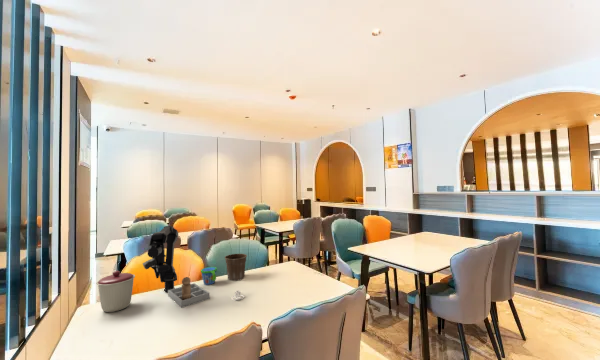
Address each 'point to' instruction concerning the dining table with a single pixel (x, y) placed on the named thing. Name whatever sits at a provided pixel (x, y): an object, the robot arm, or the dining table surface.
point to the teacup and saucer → (237, 296)
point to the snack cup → (209, 275)
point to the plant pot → (235, 266)
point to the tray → (196, 295)
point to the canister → (115, 291)
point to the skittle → (186, 288)
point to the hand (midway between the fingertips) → (159, 279)
